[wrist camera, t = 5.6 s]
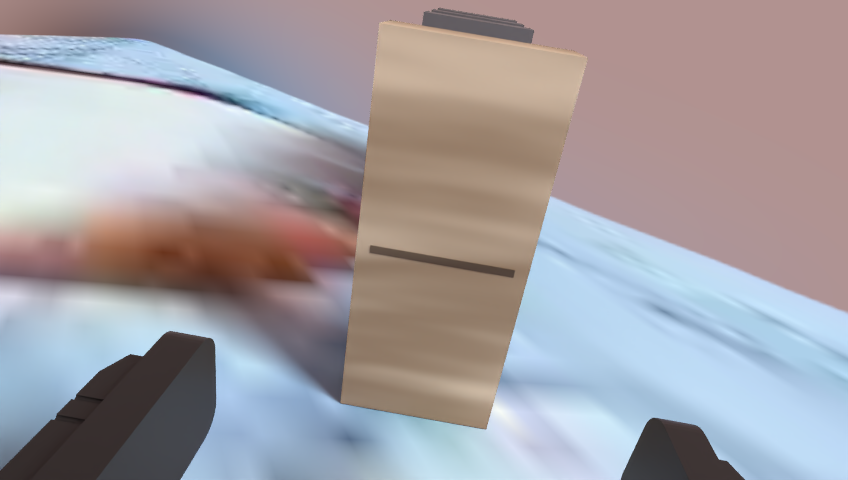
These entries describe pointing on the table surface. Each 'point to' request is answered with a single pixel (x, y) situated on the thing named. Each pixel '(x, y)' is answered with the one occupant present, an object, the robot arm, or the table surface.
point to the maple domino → (451, 215)
